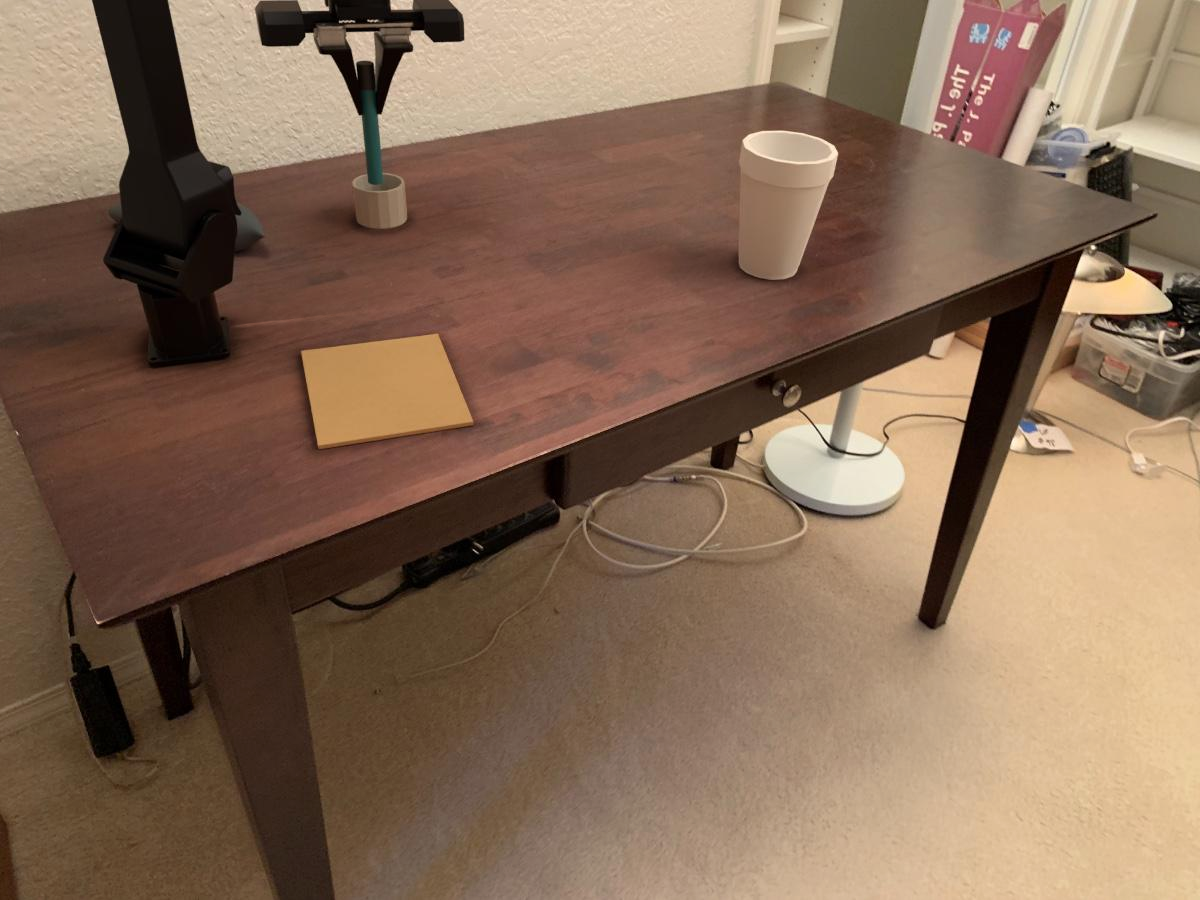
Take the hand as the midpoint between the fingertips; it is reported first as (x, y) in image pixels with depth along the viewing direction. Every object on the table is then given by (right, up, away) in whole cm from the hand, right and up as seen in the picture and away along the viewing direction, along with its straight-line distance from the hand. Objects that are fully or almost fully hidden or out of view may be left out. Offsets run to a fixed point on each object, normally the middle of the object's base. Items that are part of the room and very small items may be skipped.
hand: (369, 113), depth 92 cm
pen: (0, -6, +4) cm, 7 cm away
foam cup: (+41, -14, +7) cm, 44 cm away
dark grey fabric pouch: (-20, -12, +3) cm, 23 cm away
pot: (-1, -8, +10) cm, 13 cm away
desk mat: (+5, -29, -16) cm, 33 cm away
